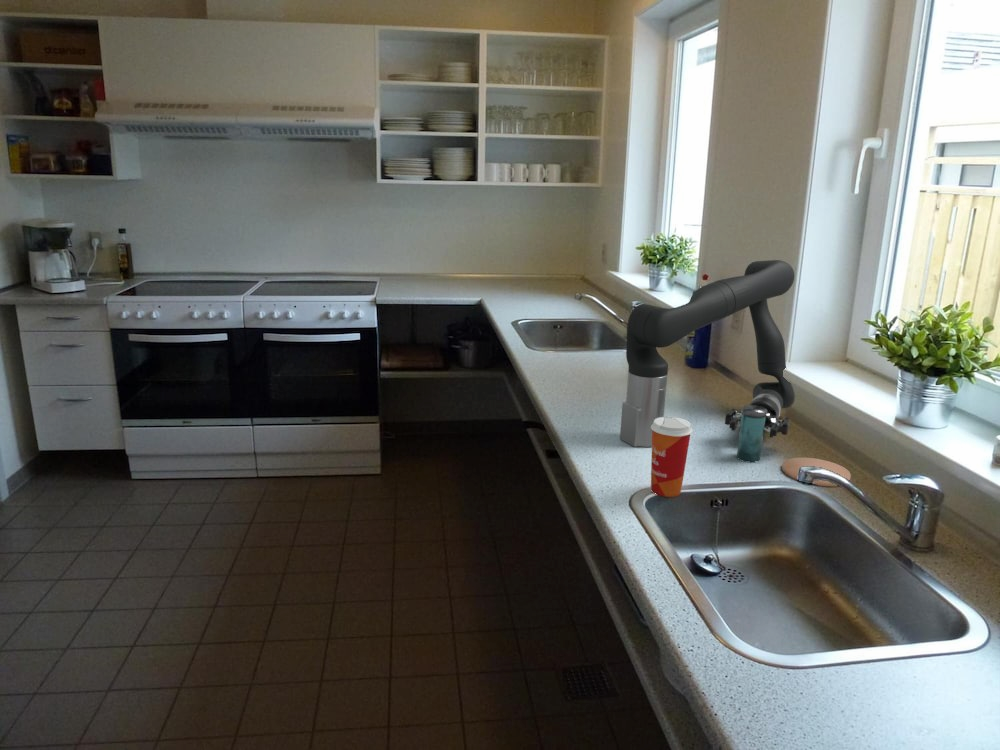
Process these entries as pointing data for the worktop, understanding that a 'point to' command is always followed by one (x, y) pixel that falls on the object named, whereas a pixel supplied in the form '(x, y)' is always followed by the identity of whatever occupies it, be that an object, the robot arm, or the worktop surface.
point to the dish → (794, 464)
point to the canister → (751, 432)
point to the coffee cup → (669, 455)
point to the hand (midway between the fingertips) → (752, 430)
